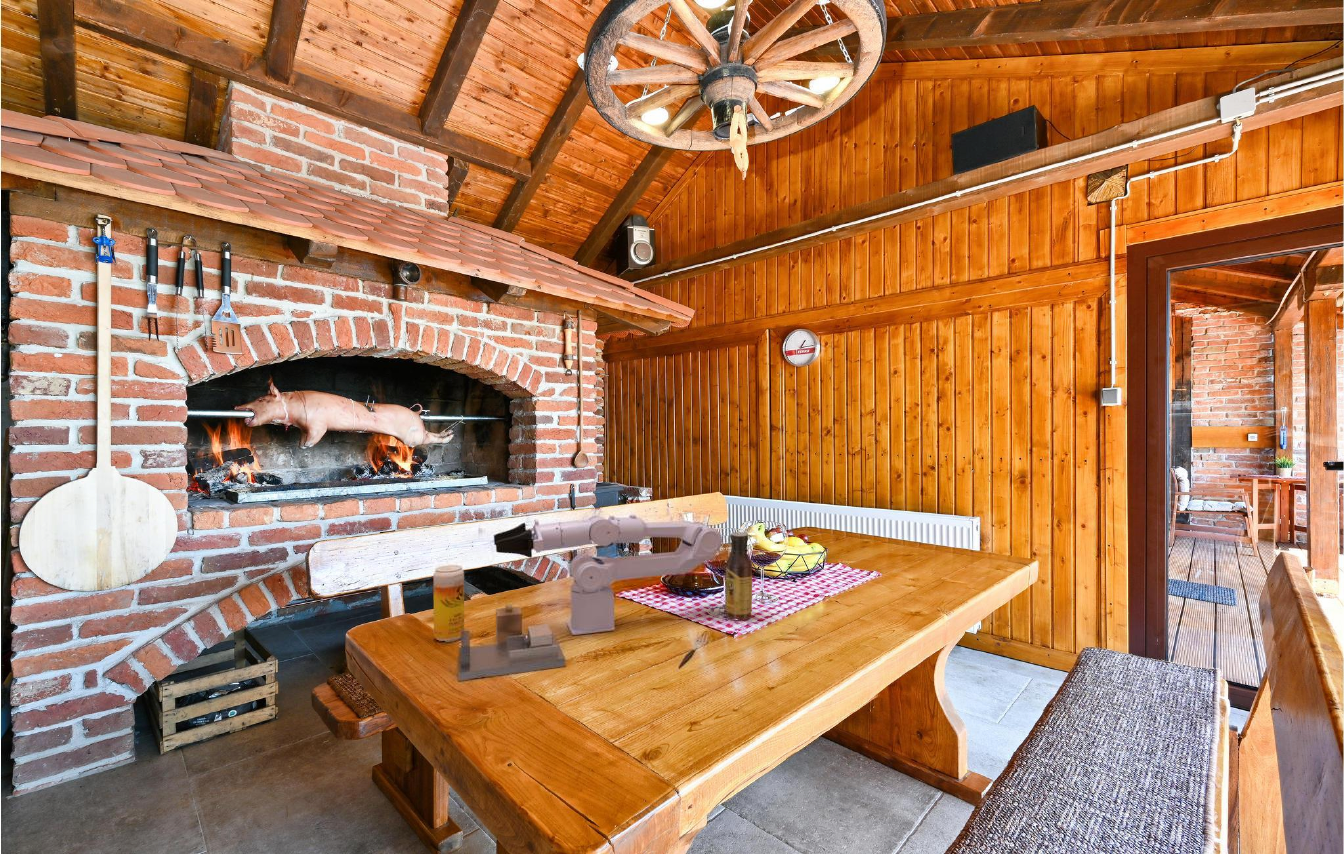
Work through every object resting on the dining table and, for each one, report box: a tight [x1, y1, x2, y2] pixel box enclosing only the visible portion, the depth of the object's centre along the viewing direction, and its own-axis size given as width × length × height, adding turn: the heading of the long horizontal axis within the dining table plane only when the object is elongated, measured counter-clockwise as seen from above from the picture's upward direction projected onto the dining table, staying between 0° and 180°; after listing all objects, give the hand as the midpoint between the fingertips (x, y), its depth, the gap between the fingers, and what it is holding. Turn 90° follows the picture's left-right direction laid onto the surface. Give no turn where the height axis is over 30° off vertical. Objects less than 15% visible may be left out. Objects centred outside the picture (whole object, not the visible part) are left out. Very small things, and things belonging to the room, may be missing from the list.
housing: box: [495, 604, 523, 644], centre depth 127 cm, size 5×5×7 cm
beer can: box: [433, 564, 465, 643], centre depth 127 cm, size 6×6×15 cm
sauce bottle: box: [724, 531, 753, 621], centre depth 140 cm, size 7×6×20 cm
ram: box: [522, 623, 553, 648], centre depth 117 cm, size 5×6×4 cm
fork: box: [678, 631, 710, 669], centre depth 119 cm, size 3×16×2 cm, turn 160°
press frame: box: [457, 630, 566, 682], centre depth 115 cm, size 19×12×6 cm, turn 109°
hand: (495, 543), depth 126 cm, fingers open, 7 cm apart
